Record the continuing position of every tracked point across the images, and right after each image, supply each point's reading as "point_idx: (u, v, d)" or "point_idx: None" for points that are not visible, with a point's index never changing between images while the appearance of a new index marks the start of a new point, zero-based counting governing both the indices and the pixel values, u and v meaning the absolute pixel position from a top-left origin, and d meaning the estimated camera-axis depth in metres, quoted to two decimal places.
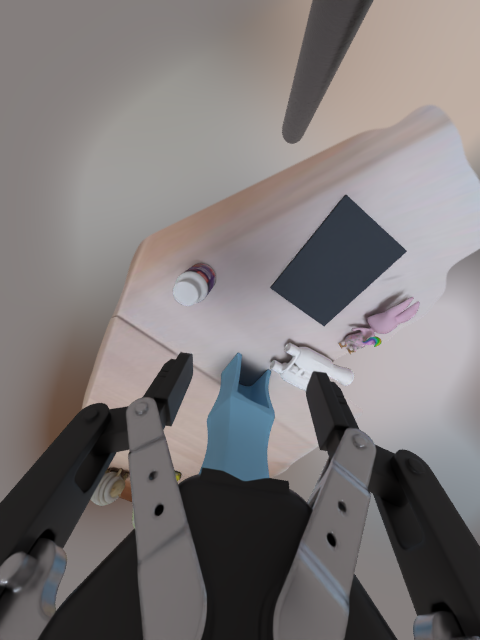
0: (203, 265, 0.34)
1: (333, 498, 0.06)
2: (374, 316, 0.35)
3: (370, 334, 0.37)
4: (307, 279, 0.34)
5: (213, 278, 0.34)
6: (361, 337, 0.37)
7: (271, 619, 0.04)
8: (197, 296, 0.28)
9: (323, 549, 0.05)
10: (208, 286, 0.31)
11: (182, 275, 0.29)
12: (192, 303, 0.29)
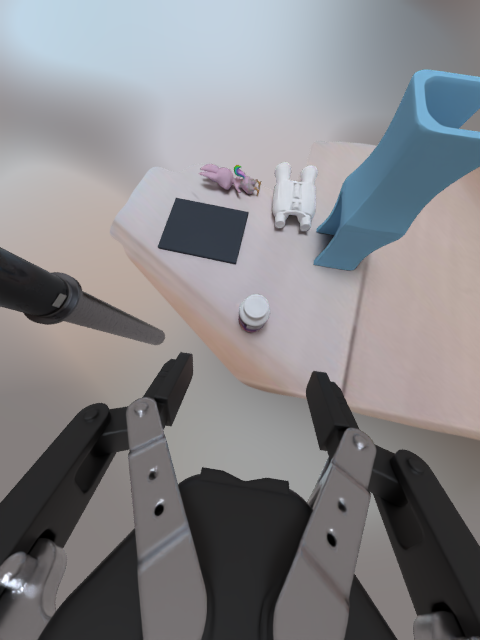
0: None
1: (333, 498, 0.06)
2: (222, 185, 0.45)
3: (237, 179, 0.45)
4: (217, 241, 0.43)
5: None
6: (242, 182, 0.45)
7: (271, 619, 0.04)
8: (253, 295, 0.30)
9: (323, 549, 0.05)
10: None
11: (245, 320, 0.31)
12: (262, 297, 0.30)
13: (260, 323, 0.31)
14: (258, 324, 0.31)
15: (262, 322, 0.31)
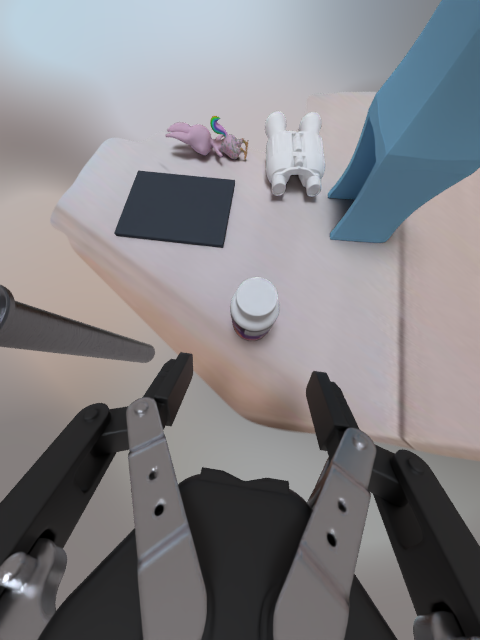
0: (232, 322, 0.25)
1: (333, 498, 0.06)
2: (198, 148, 0.34)
3: (216, 139, 0.34)
4: (195, 219, 0.31)
5: None
6: (223, 142, 0.34)
7: (271, 619, 0.04)
8: (250, 279, 0.18)
9: (323, 549, 0.05)
10: None
11: (241, 322, 0.19)
12: (265, 281, 0.18)
13: (266, 325, 0.19)
14: (263, 327, 0.19)
15: (269, 323, 0.19)
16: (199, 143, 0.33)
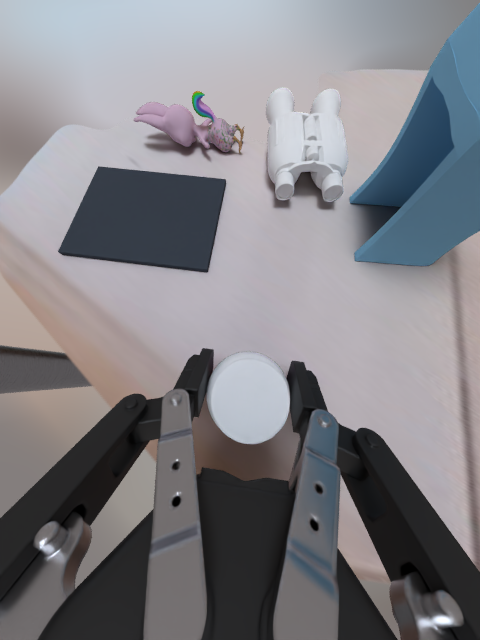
0: None
1: (310, 483, 0.06)
2: (177, 137, 0.26)
3: (202, 126, 0.26)
4: (170, 233, 0.23)
5: None
6: (211, 129, 0.26)
7: (271, 619, 0.04)
8: (239, 362, 0.10)
9: (323, 549, 0.05)
10: None
11: None
12: (267, 368, 0.10)
13: None
14: None
15: None
16: (178, 130, 0.25)
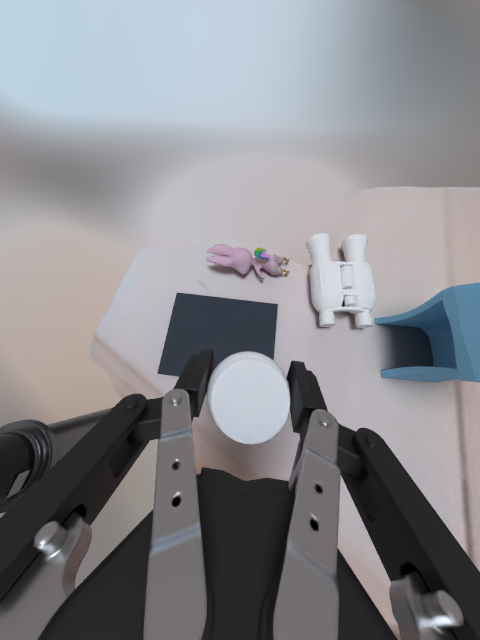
0: None
1: (310, 483, 0.06)
2: (239, 271, 0.33)
3: (257, 259, 0.33)
4: None
5: None
6: (265, 264, 0.33)
7: (271, 619, 0.04)
8: (239, 362, 0.10)
9: (323, 549, 0.05)
10: None
11: None
12: (267, 368, 0.10)
13: None
14: None
15: None
16: (241, 267, 0.32)
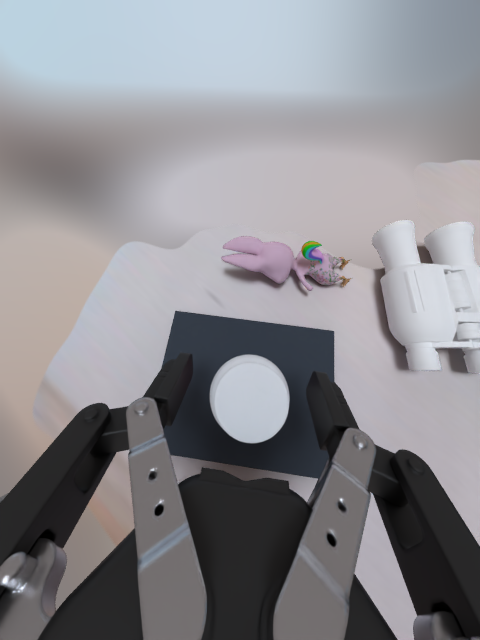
0: None
1: (333, 498, 0.06)
2: (273, 278, 0.21)
3: (301, 260, 0.21)
4: None
5: None
6: (314, 268, 0.21)
7: (271, 619, 0.04)
8: (240, 365, 0.10)
9: (323, 549, 0.05)
10: None
11: None
12: (267, 371, 0.10)
13: None
14: None
15: None
16: (277, 273, 0.20)
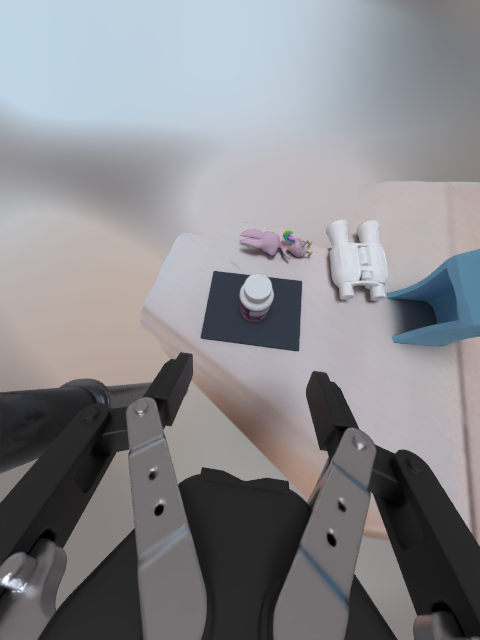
0: (240, 308, 0.34)
1: (333, 498, 0.06)
2: (268, 252, 0.38)
3: (284, 242, 0.38)
4: (271, 323, 0.35)
5: None
6: (291, 246, 0.38)
7: (271, 619, 0.04)
8: (253, 275, 0.27)
9: (323, 549, 0.05)
10: None
11: (247, 304, 0.28)
12: (264, 276, 0.27)
13: (264, 306, 0.28)
14: (262, 308, 0.28)
15: (266, 305, 0.28)
16: (270, 248, 0.37)
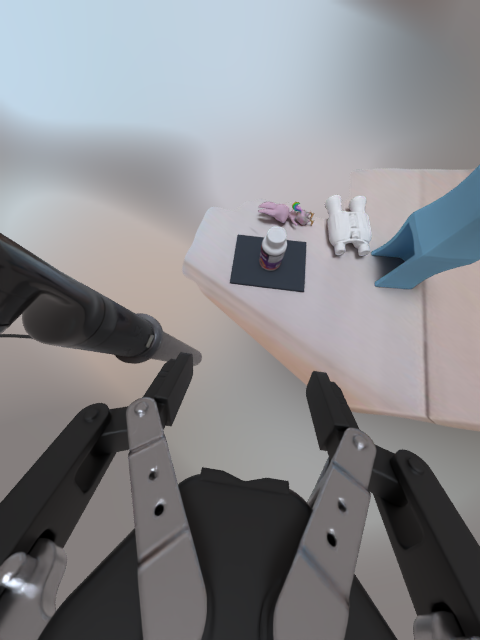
0: (259, 259, 0.45)
1: (333, 498, 0.06)
2: (280, 219, 0.49)
3: (292, 212, 0.49)
4: (283, 272, 0.46)
5: None
6: (298, 215, 0.49)
7: (271, 619, 0.04)
8: (273, 227, 0.38)
9: (323, 549, 0.05)
10: None
11: (268, 250, 0.39)
12: (281, 228, 0.38)
13: (280, 251, 0.39)
14: (279, 252, 0.39)
15: (282, 250, 0.39)
16: (282, 217, 0.48)
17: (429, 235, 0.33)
